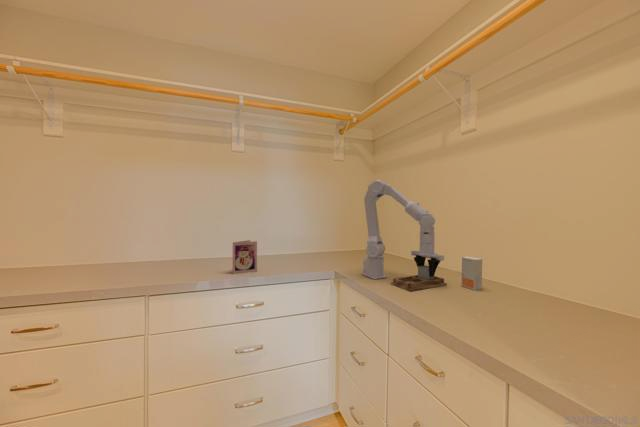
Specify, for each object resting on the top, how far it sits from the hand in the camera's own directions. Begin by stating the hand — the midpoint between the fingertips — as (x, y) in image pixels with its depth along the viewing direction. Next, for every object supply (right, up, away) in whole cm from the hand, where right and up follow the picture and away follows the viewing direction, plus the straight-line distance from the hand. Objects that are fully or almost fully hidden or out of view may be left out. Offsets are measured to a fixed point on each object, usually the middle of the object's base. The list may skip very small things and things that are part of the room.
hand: (426, 275), depth 109 cm
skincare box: (+16, -4, -6) cm, 17 cm away
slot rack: (-4, -4, -2) cm, 6 cm away
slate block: (0, -2, 0) cm, 2 cm away
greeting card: (-82, -3, +19) cm, 84 cm away
